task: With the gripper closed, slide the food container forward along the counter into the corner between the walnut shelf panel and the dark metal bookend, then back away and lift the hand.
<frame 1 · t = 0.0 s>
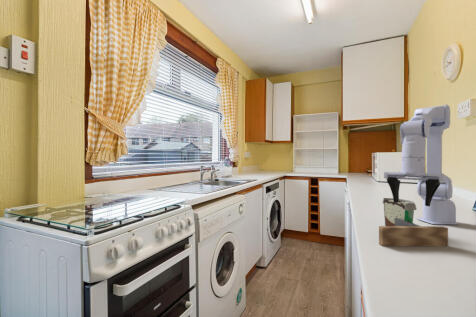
hand: (411, 204, 68), 11 cm above the table, tool pointing down, fingers open, 7 cm apart
shelf panel: (413, 245, 64), on the table
food container: (402, 231, 78), on the table
bookend: (407, 238, 70), on the table
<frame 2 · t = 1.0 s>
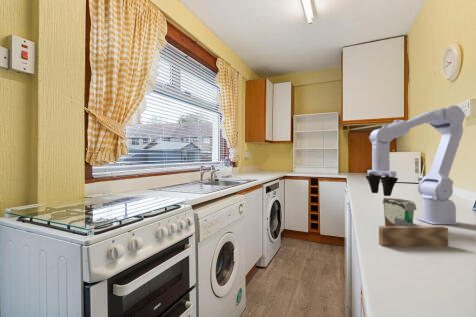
hand: (380, 194, 89), 10 cm above the table, tool pointing down, fingers open, 7 cm apart
nothing on the table moved.
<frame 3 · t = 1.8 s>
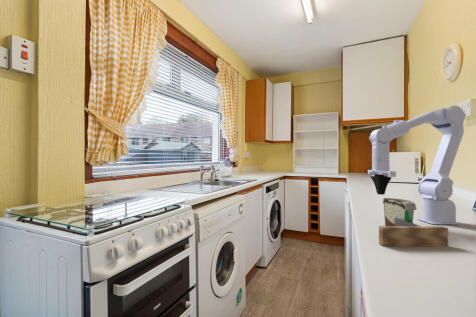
hand: (380, 194, 90), 10 cm above the table, tool pointing down, fingers closed
nothing on the table moved.
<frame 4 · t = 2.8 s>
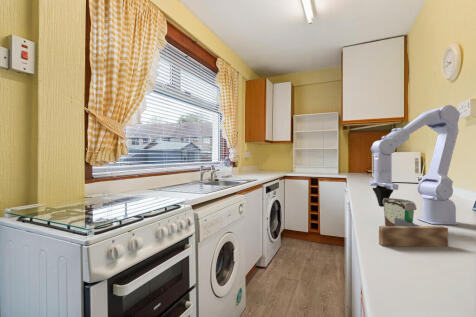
hand: (382, 206, 89), 6 cm above the table, tool pointing down, fingers closed
nothing on the table moved.
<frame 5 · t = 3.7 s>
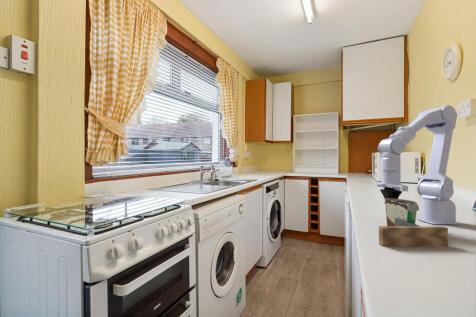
hand: (390, 208, 84), 6 cm above the table, tool pointing down, fingers closed
food container: (405, 231, 77), on the table, touching gripper
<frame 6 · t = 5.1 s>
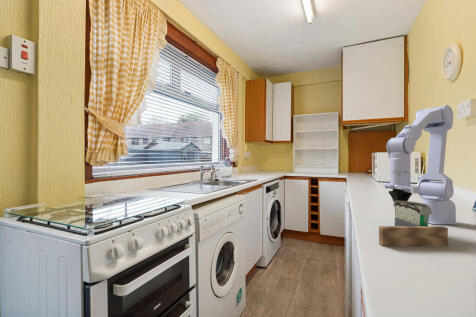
hand: (400, 211, 79), 6 cm above the table, tool pointing down, fingers closed
food container: (416, 236, 72), on the table, touching gripper
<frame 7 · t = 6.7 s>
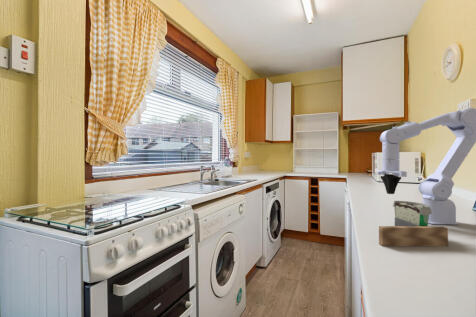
hand: (390, 193, 92), 10 cm above the table, tool pointing down, fingers closed
food container: (416, 236, 72), on the table
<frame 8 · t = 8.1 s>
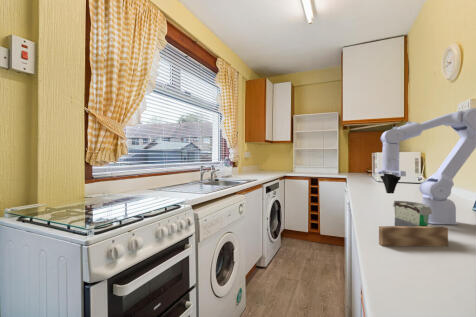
hand: (390, 193, 93), 10 cm above the table, tool pointing down, fingers closed
nothing on the table moved.
at the end: food container 0.3 cm from the target spot, on the table; food container tilted 0° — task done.
